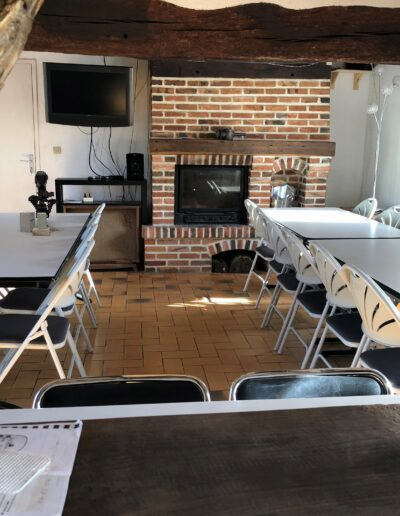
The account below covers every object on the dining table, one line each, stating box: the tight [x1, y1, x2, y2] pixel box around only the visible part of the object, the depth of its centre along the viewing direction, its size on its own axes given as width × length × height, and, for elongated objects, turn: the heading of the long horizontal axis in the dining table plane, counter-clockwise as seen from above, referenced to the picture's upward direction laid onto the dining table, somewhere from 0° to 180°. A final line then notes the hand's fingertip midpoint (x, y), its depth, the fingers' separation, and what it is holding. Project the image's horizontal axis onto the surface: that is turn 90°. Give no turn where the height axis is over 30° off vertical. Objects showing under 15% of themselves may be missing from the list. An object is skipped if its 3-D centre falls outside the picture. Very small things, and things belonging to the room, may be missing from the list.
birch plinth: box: [31, 227, 51, 237], centre depth 346 cm, size 10×10×4 cm
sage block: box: [36, 213, 48, 229], centre depth 345 cm, size 5×5×10 cm
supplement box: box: [19, 211, 36, 233], centre depth 355 cm, size 7×7×13 cm
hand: (43, 212), depth 354 cm, fingers open, 9 cm apart
